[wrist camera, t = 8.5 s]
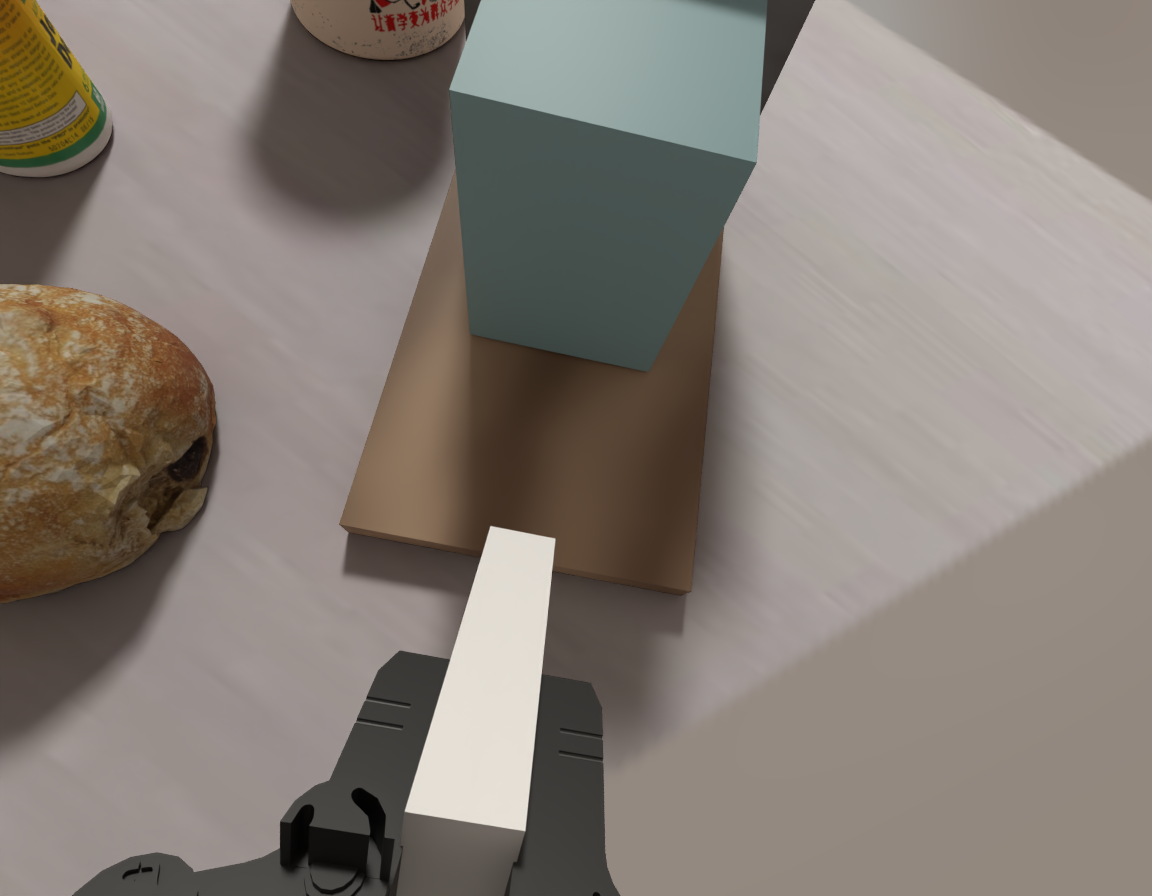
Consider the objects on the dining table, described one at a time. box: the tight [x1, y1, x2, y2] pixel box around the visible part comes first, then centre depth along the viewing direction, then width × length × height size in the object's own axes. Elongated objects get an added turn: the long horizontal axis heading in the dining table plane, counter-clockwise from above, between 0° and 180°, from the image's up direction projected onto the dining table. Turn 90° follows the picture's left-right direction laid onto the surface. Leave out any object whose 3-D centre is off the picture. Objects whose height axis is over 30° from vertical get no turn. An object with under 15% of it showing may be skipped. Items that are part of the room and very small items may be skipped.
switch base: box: [339, 0, 815, 595], centre depth 18 cm, size 12×22×14 cm, turn 171°
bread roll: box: [0, 284, 216, 603], centre depth 18 cm, size 10×10×8 cm
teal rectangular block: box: [449, 0, 768, 372], centre depth 19 cm, size 7×6×10 cm
